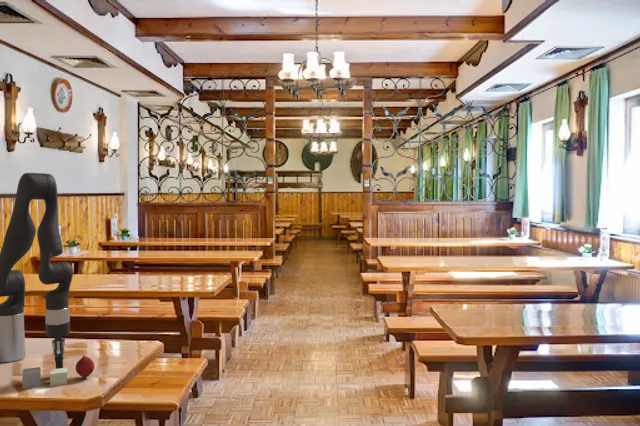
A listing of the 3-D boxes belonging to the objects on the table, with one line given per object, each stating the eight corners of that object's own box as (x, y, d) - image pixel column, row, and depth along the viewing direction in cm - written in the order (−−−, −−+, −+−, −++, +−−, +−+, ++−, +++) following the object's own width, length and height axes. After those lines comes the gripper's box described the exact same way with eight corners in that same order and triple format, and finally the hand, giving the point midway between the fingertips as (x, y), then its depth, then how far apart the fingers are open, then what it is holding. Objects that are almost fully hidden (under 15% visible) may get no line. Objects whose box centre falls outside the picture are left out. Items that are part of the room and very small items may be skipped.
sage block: (50, 386, 182) (49, 374, 182) (51, 381, 187) (50, 369, 186) (67, 384, 184) (66, 372, 184) (67, 379, 189) (67, 367, 188)
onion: (98, 375, 191) (97, 352, 191) (86, 381, 186) (85, 357, 185) (84, 374, 193) (83, 351, 192) (72, 379, 187) (71, 356, 187)
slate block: (22, 389, 180) (22, 373, 179) (23, 384, 184) (23, 369, 184) (40, 386, 182) (39, 371, 181) (40, 381, 186) (40, 366, 186)
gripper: (46, 318, 195) (47, 366, 196) (44, 326, 183) (46, 378, 184) (69, 315, 198) (71, 363, 199) (70, 324, 186) (71, 375, 187)
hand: (59, 370), depth 192 cm, fingers closed
